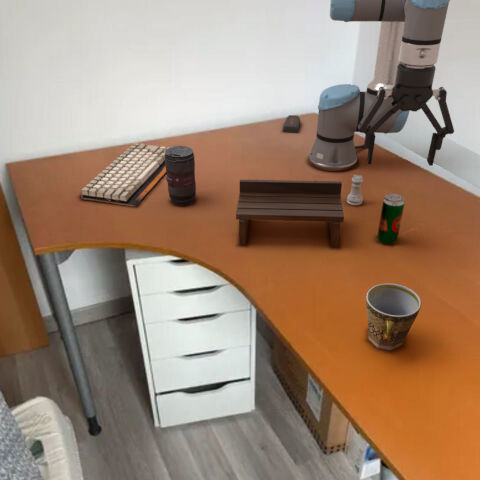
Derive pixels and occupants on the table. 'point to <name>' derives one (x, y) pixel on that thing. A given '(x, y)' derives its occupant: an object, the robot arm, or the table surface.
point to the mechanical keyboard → (128, 176)
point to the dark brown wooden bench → (290, 203)
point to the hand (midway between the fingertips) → (399, 162)
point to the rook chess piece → (355, 191)
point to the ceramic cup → (390, 314)
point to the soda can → (390, 218)
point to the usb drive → (291, 124)
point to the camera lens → (180, 174)
